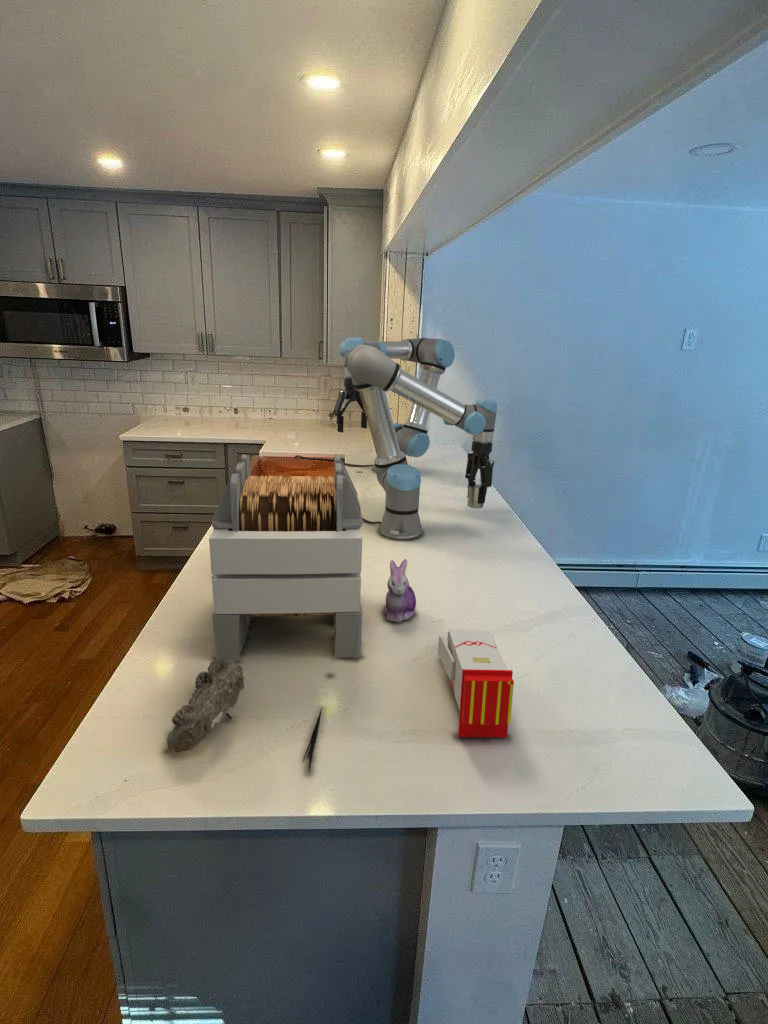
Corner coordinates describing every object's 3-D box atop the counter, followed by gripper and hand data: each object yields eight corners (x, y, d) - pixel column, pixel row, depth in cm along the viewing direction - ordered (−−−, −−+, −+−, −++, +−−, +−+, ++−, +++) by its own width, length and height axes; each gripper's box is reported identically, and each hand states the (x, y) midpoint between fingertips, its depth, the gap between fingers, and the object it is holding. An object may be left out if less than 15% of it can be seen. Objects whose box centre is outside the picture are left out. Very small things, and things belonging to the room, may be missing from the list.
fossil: (192, 660, 117) (244, 628, 112) (224, 691, 120) (276, 661, 115) (142, 746, 98) (202, 712, 93) (182, 779, 101) (242, 748, 96)
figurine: (392, 627, 141) (395, 572, 136) (374, 608, 149) (376, 556, 144) (425, 619, 145) (429, 566, 140) (405, 601, 154) (408, 550, 149)
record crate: (234, 590, 156) (226, 444, 142) (353, 588, 159) (357, 447, 146) (212, 662, 124) (200, 485, 110) (361, 659, 128) (367, 486, 114)
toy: (488, 613, 130) (523, 677, 101) (484, 667, 133) (517, 744, 104) (435, 612, 130) (455, 676, 101) (432, 666, 133) (451, 743, 103)
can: (472, 509, 215) (474, 489, 212) (464, 503, 220) (466, 484, 217) (486, 507, 217) (488, 488, 214) (477, 502, 222) (480, 483, 220)
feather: (331, 679, 122) (336, 673, 122) (307, 777, 96) (313, 769, 95) (324, 675, 122) (329, 669, 121) (298, 772, 95) (304, 764, 95)
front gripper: (507, 446, 204) (499, 507, 211) (475, 435, 219) (469, 492, 227) (490, 447, 200) (482, 509, 208) (459, 436, 216) (453, 493, 224)
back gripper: (337, 380, 217) (336, 435, 224) (381, 377, 234) (379, 427, 242) (324, 378, 222) (323, 432, 229) (368, 375, 239) (366, 424, 246)
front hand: (475, 500), depth 218 cm, fingers closed on can, 6 cm apart
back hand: (352, 430), depth 235 cm, fingers open, 13 cm apart
